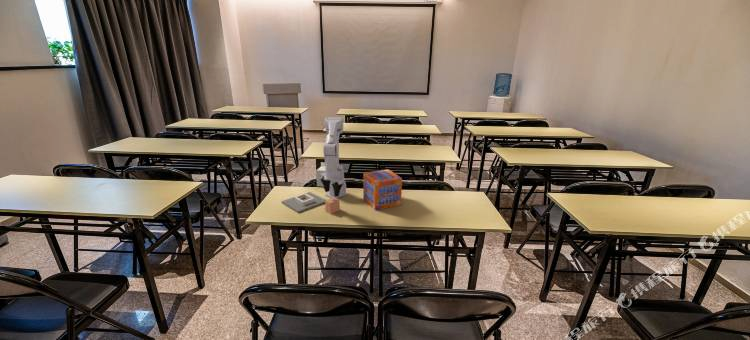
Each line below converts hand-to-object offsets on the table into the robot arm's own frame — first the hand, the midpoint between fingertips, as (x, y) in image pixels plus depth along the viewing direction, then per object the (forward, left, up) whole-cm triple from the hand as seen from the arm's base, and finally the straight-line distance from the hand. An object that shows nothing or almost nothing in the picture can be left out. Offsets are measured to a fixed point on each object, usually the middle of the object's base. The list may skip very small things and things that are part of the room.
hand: (332, 193), depth 153 cm
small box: (-18, -32, -10) cm, 38 cm away
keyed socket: (+5, -18, -10) cm, 21 cm away
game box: (-26, +10, -10) cm, 30 cm away
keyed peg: (0, 0, -10) cm, 10 cm away
